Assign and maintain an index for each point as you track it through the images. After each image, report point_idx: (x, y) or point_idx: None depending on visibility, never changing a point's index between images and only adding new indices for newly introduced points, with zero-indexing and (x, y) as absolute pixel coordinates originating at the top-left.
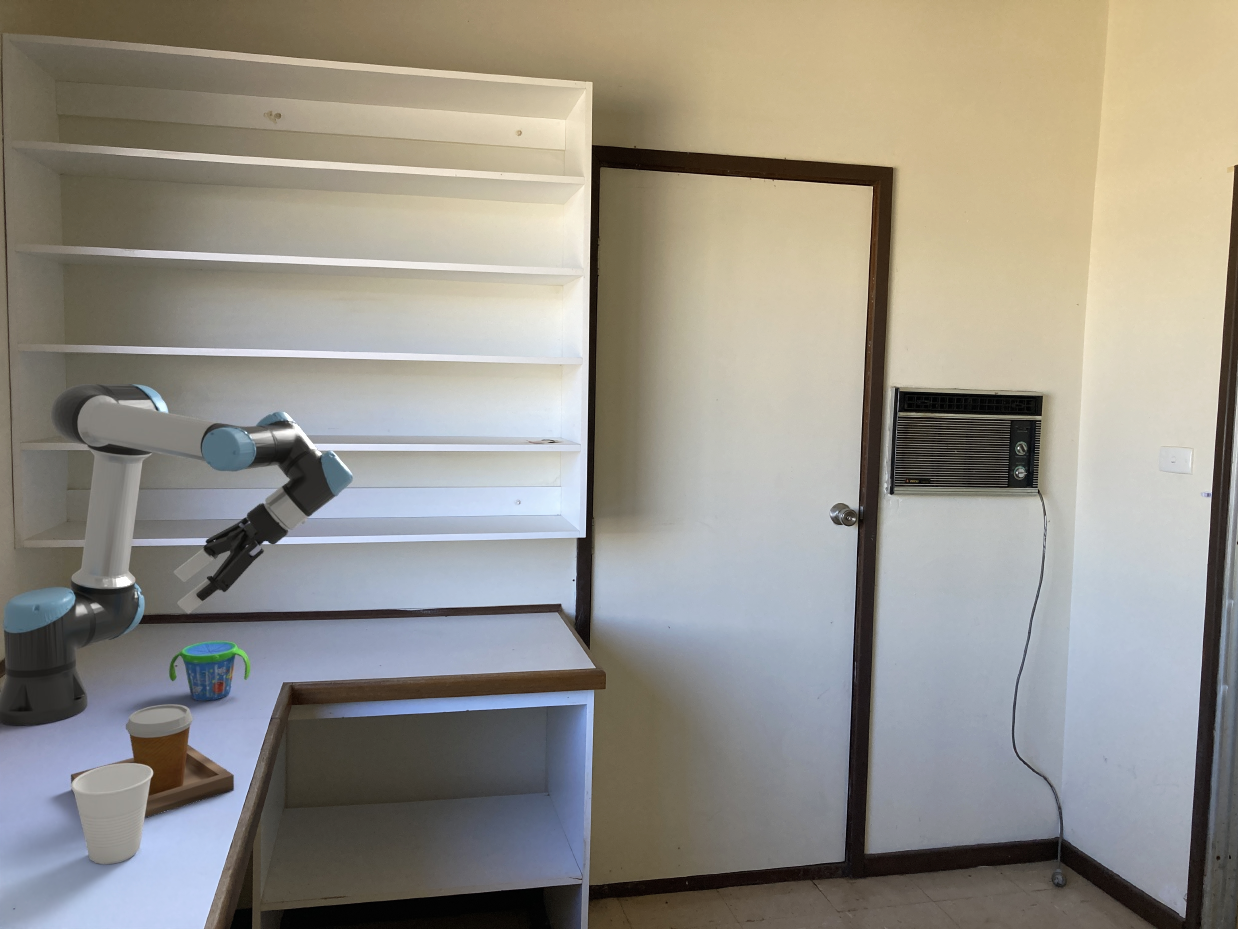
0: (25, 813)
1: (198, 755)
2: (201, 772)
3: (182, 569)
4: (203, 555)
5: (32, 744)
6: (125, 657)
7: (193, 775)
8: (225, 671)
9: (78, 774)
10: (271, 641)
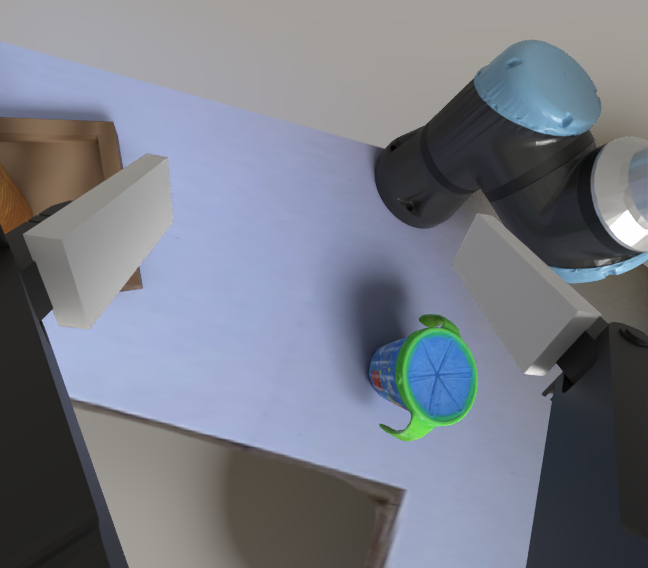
0: (66, 74)
1: None
2: None
3: (487, 239)
4: (546, 319)
5: (315, 148)
6: None
7: None
8: (391, 394)
9: (104, 128)
10: None
